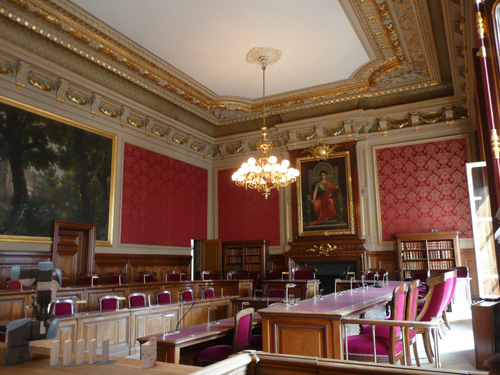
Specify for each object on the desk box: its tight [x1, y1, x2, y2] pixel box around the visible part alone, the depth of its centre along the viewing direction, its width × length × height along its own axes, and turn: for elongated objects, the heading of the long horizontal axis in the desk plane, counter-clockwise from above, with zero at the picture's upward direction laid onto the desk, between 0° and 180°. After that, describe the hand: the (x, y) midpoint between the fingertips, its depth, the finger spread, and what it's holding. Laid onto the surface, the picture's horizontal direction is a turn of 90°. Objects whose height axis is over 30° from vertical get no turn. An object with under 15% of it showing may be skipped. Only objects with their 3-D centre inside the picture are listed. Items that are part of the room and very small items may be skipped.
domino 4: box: [88, 338, 98, 364], centre depth 230 cm, size 2×6×12 cm, turn 0°
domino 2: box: [62, 339, 73, 365], centre depth 230 cm, size 2×6×12 cm, turn 0°
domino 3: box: [75, 338, 85, 365], centre depth 230 cm, size 2×6×12 cm, turn 0°
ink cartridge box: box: [140, 335, 157, 369], centre depth 222 cm, size 9×5×15 cm, turn 168°
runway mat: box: [42, 359, 119, 368], centre depth 229 cm, size 38×10×1 cm, turn 90°
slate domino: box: [101, 337, 110, 364], centre depth 230 cm, size 2×6×12 cm, turn 0°
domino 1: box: [49, 339, 60, 366], centre depth 230 cm, size 2×6×12 cm, turn 0°
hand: (42, 333), depth 231 cm, fingers closed
